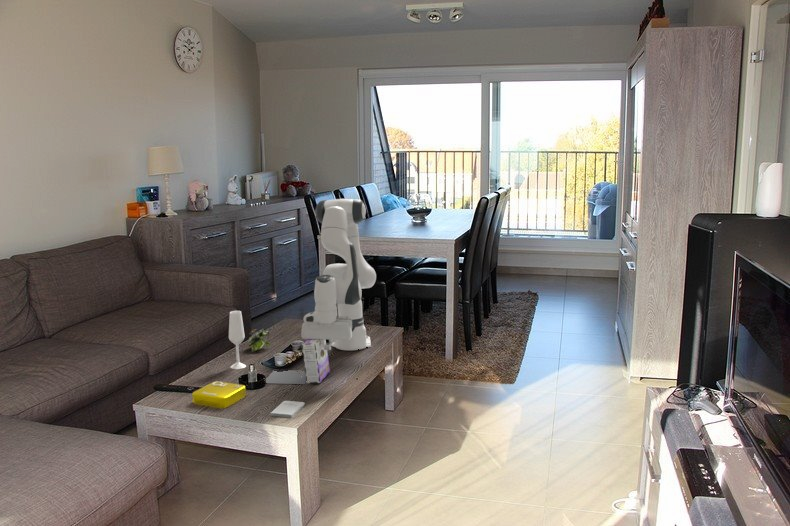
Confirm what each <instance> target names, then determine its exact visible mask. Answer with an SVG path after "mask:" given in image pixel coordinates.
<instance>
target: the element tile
mask: <svg viewBox="0 0 790 526" xmlns="http://www.w3.org/2000/svg"><path fill="white" fill-rule="evenodd" d="M246 389H247V388H246V385H244V384H238V383H231V382H224V381H218V380H216V381H213V382H211V383H208V384H207V385H205V386H202V387H201V388H199V389H196V390H194V391H193V392H192V395H191V396H192V404H193V403H194V404H193V405H196V404H198V405H197V406H202V405H205V406H204V407H208V406H210V408H214V407H215V408H216V409H227V408H229V407H231V406H232V405H234V404H236V403H238V402H239V401H241V400H242V399H245V398H246V397H247V392H246V391H247V390H246ZM245 396H246V397H245ZM240 399H241V400H240ZM226 407H227V408H226Z"/></svg>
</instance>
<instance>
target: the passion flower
mask: <svg viewBox="0 0 790 526" xmlns="http://www.w3.org/2000/svg"><path fill="white" fill-rule="evenodd" d="M257 330H258V329H257V328H256V329H253V330H250V333H249V335H250V337H249V338H248V340H247V343H248V348H249V347H251V352H256V351H257V350H261V349H262V348H263V347H264V346H266V348H267V350H269V347H271V344H270V342H268V341H269V337H270V331H269V330H267V331H265V330H264V328H262V329H259V330H258V331H257ZM266 336H267V338H266V340H264V338H265V337H266Z"/></svg>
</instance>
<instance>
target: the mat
mask: <svg viewBox="0 0 790 526" xmlns="http://www.w3.org/2000/svg"><path fill="white" fill-rule="evenodd" d="M287 370H288V369H287ZM297 371H298V372H297ZM300 372H301V373H300ZM302 372H303V373H302ZM299 373H300V374H299ZM301 376H302V377H301ZM265 380H266V383H267V384H266V385H291V384H303V385H302V386H305V385H306V384H307V382H306V381H307V380H306V372H305V370H290V369H289V370H288V371H283V372H277V371H274V370H272V372H271V373H270V374H269V375H268V376H267V377H266V378H265ZM304 384H305V385H304Z"/></svg>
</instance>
